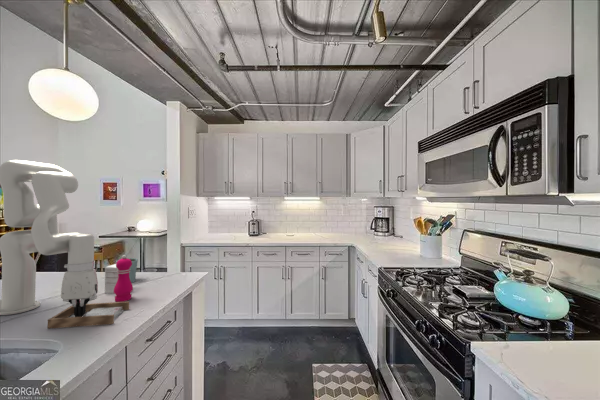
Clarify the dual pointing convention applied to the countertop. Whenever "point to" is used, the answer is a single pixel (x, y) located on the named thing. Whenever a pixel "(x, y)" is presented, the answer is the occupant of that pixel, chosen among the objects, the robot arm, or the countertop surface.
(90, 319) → the wooden u-shaped frame
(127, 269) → the pepper mill
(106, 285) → the supplement box
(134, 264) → the drinking glass
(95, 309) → the cover plate
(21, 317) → the countertop surface
